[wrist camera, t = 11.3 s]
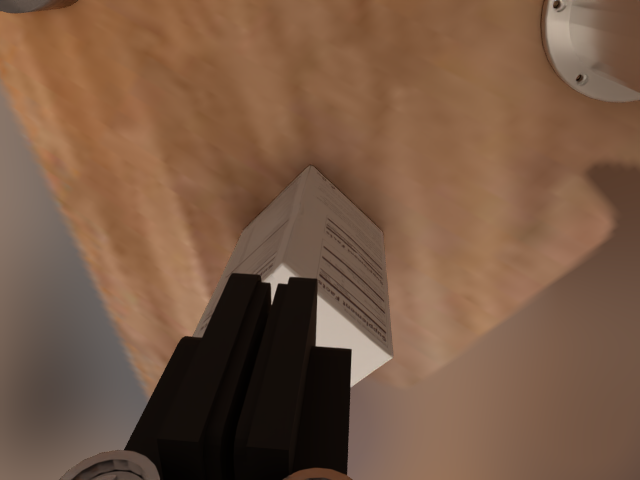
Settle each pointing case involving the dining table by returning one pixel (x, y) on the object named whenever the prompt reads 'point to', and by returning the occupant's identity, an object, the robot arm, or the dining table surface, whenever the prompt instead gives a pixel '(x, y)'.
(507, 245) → the dining table surface
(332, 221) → the supplement box
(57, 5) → the metal tin
